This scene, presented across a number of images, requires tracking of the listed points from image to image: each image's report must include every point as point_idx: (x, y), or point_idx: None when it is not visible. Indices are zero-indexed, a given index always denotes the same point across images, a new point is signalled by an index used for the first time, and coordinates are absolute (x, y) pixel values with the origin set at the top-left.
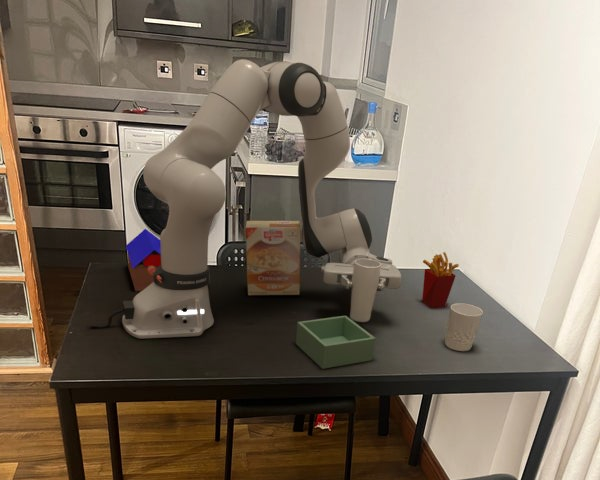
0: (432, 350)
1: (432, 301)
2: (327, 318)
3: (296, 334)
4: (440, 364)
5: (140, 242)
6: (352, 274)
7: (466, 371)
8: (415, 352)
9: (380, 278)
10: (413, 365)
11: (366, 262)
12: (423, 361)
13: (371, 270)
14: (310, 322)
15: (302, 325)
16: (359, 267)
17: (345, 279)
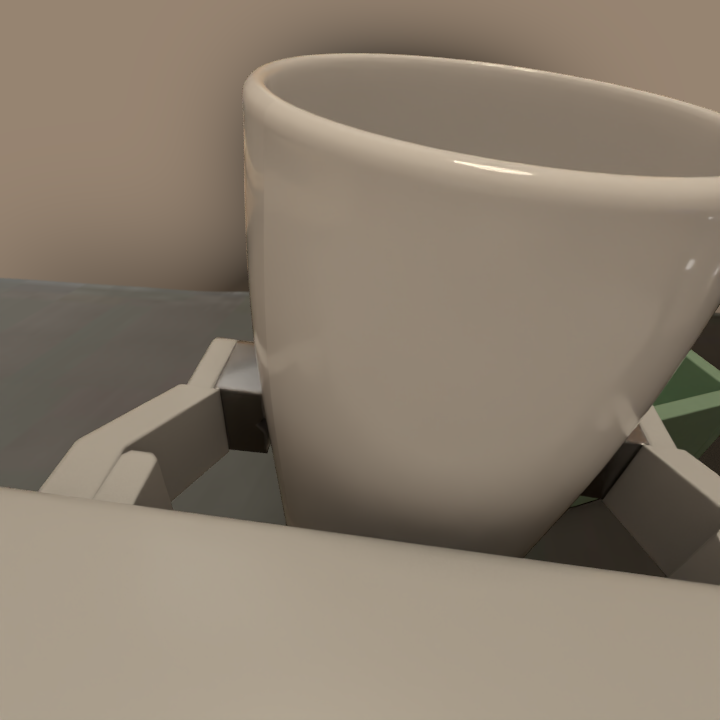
0: (61, 398)
1: None
2: None
3: (712, 439)
4: (124, 320)
5: None
6: (660, 583)
7: (67, 287)
8: (159, 388)
9: (133, 489)
10: (231, 322)
11: (501, 268)
12: (175, 337)
13: (441, 105)
14: (689, 399)
15: (710, 367)
16: (607, 122)
17: (700, 465)
